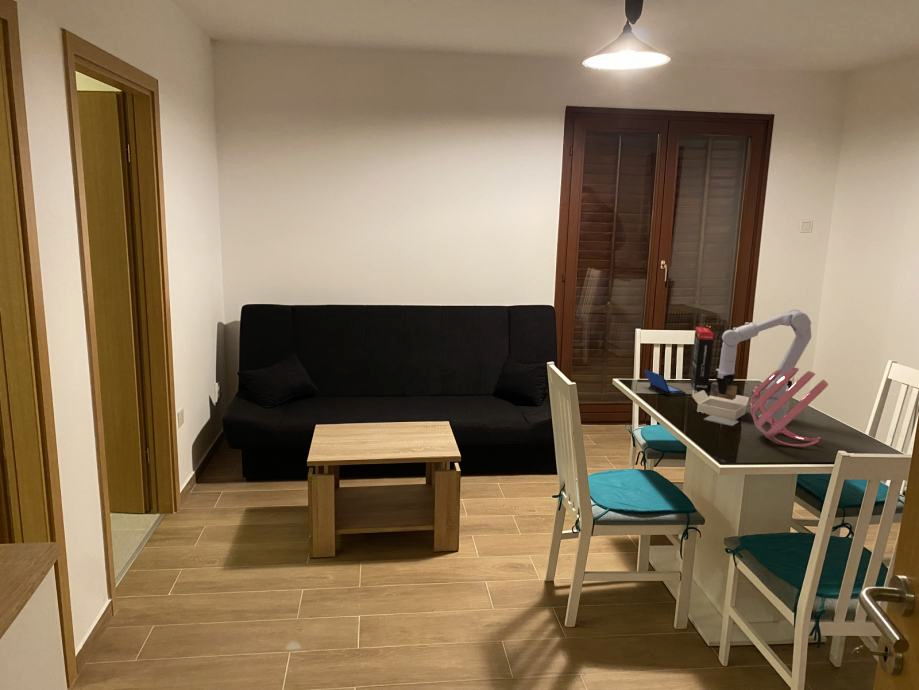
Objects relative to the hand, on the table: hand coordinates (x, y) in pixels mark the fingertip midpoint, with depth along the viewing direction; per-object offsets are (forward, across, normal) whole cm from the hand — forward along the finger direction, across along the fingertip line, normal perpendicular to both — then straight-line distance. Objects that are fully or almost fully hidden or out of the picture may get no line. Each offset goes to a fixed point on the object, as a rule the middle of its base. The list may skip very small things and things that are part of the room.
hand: (723, 392), depth 276 cm
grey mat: (+8, +12, +4) cm, 15 cm away
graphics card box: (+9, -38, -23) cm, 45 cm away
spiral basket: (+9, +19, +28) cm, 35 cm away
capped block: (+2, 0, 0) cm, 2 cm away
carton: (+8, -1, 0) cm, 9 cm away
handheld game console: (+9, -16, -31) cm, 36 cm away
